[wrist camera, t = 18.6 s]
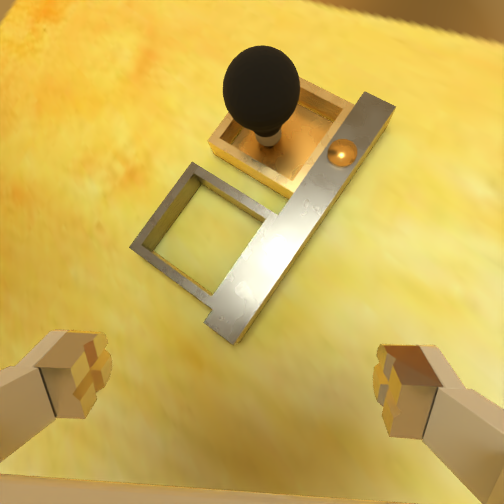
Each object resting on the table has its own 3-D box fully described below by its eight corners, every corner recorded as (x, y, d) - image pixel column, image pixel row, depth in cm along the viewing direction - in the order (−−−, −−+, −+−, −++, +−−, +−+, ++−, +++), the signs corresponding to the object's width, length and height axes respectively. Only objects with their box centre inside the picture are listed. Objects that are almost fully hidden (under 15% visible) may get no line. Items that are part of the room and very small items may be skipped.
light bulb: (311, 128, 32) (317, 45, 22) (278, 178, 31) (268, 115, 21) (261, 102, 33) (245, 12, 23) (228, 149, 32) (197, 78, 23)
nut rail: (134, 263, 32) (115, 256, 28) (275, 70, 34) (273, 43, 30) (239, 342, 29) (231, 345, 26) (386, 126, 31) (397, 103, 28)
